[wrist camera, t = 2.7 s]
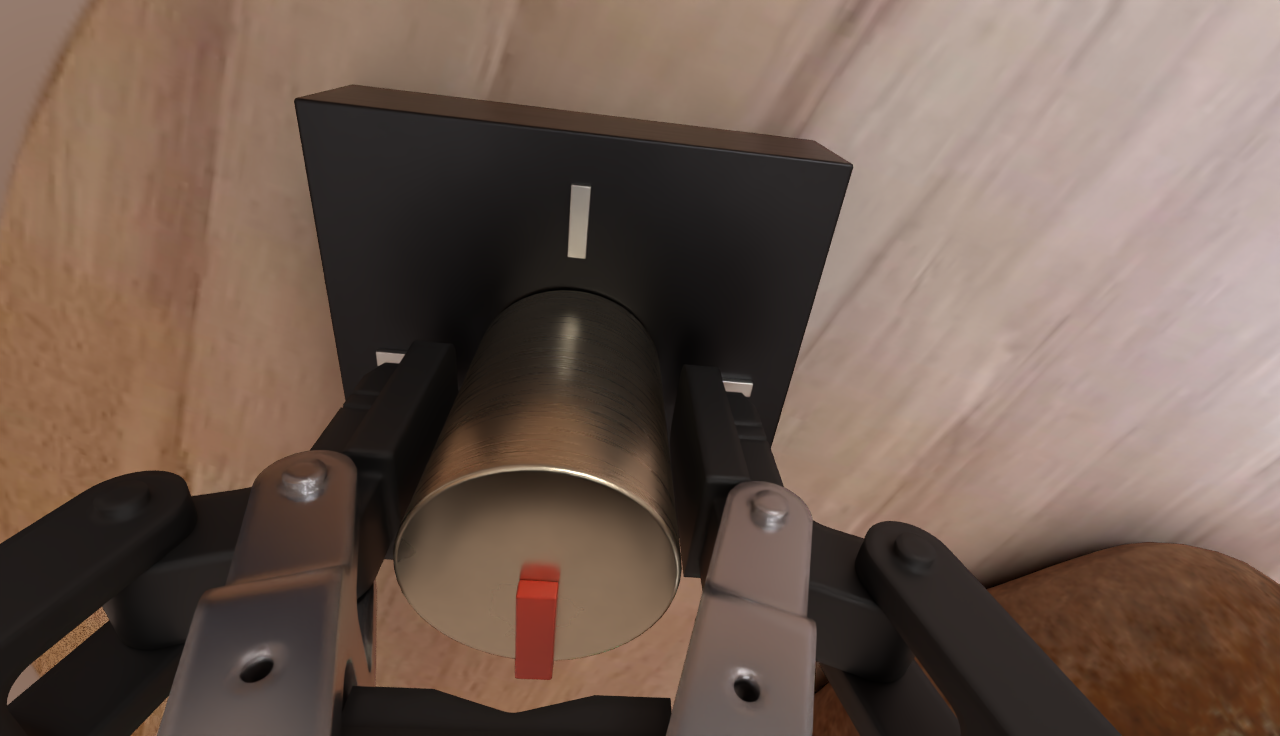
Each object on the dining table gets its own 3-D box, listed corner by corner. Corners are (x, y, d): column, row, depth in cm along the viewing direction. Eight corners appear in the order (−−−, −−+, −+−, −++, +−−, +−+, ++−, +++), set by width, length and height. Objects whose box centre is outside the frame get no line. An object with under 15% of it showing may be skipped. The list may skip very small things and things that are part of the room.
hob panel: (350, 83, 12) (286, 98, 10) (816, 140, 13) (857, 166, 11) (397, 457, 17) (362, 524, 15) (729, 480, 18) (744, 547, 16)
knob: (474, 279, 12) (365, 472, 7) (671, 298, 12) (707, 495, 7) (479, 437, 14) (398, 676, 9) (648, 450, 14) (663, 687, 9)
